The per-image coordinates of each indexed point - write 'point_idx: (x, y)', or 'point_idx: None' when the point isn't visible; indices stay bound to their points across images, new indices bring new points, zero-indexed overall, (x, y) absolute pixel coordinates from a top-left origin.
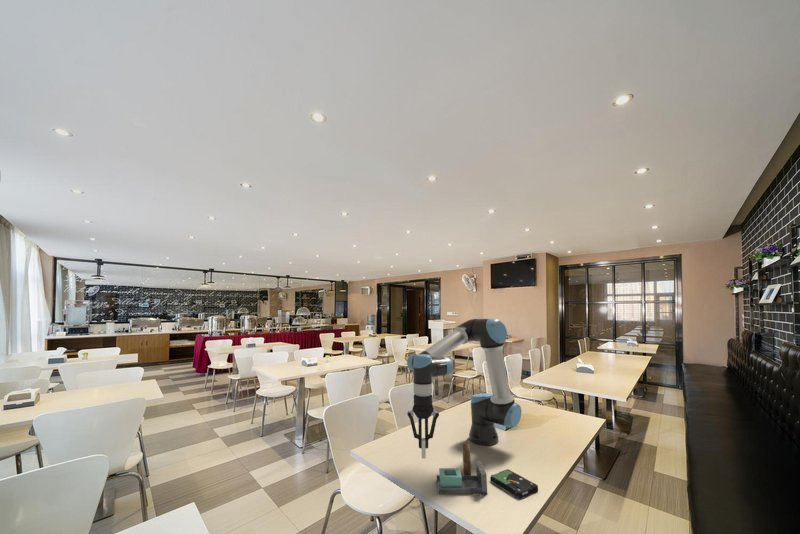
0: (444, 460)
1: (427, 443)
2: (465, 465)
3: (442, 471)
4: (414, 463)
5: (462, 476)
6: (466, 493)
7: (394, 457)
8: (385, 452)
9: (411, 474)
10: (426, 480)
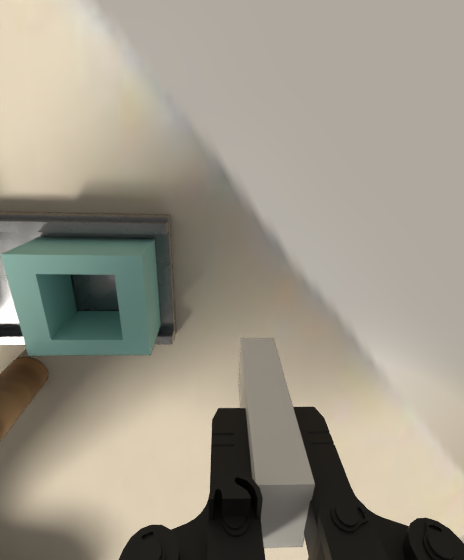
0: (137, 475)
1: (222, 456)
2: (2, 397)
3: (130, 321)
4: None
5: None
6: (21, 212)
7: None
8: None
9: (289, 374)
10: (225, 330)
